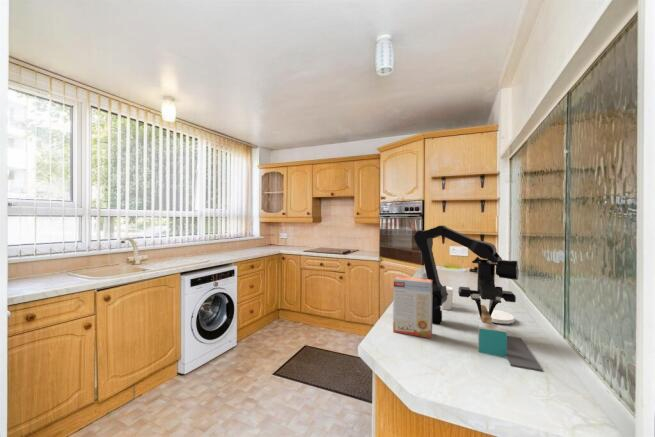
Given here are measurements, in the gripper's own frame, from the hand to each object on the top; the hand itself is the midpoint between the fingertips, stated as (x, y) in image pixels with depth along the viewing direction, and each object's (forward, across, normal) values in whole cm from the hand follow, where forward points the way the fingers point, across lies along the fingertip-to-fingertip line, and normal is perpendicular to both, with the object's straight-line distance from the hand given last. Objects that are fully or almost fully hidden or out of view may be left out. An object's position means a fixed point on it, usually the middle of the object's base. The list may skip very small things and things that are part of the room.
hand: (485, 316), depth 110 cm
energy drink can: (+7, -24, +37) cm, 44 cm away
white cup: (+7, -14, +29) cm, 33 cm away
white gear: (+8, +7, +21) cm, 23 cm away
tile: (+3, 0, -16) cm, 17 cm away
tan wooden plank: (+2, 0, 0) cm, 2 cm away
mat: (+7, +8, -11) cm, 16 cm away
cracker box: (+7, -26, -9) cm, 28 cm away
